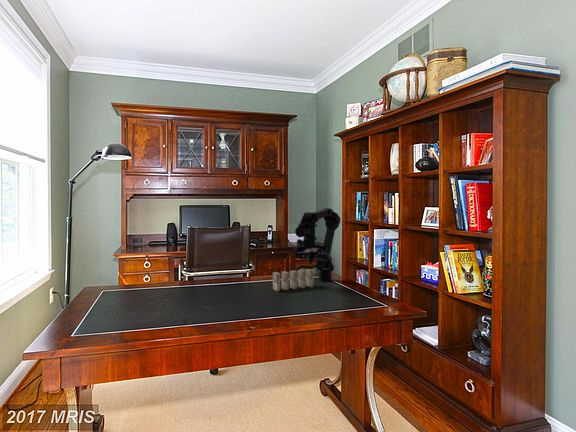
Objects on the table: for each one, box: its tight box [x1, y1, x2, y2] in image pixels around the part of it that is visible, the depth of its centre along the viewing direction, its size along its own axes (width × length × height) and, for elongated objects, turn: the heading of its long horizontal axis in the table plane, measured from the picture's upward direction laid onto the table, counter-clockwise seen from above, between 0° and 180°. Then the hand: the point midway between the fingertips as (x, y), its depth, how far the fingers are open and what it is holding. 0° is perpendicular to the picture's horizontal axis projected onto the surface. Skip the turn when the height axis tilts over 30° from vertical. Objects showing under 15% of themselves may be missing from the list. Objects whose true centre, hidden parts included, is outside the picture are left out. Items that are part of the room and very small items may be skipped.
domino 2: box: [280, 270, 290, 291], centre depth 204 cm, size 2×5×9 cm, turn 26°
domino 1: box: [272, 271, 281, 292], centre depth 201 cm, size 2×5×9 cm, turn 26°
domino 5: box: [305, 268, 315, 288], centre depth 210 cm, size 2×5×9 cm, turn 26°
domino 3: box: [289, 270, 298, 290], centre depth 206 cm, size 2×5×9 cm, turn 26°
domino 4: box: [297, 269, 307, 289], centre depth 208 cm, size 2×5×9 cm, turn 26°
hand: (309, 264), depth 210 cm, fingers closed
